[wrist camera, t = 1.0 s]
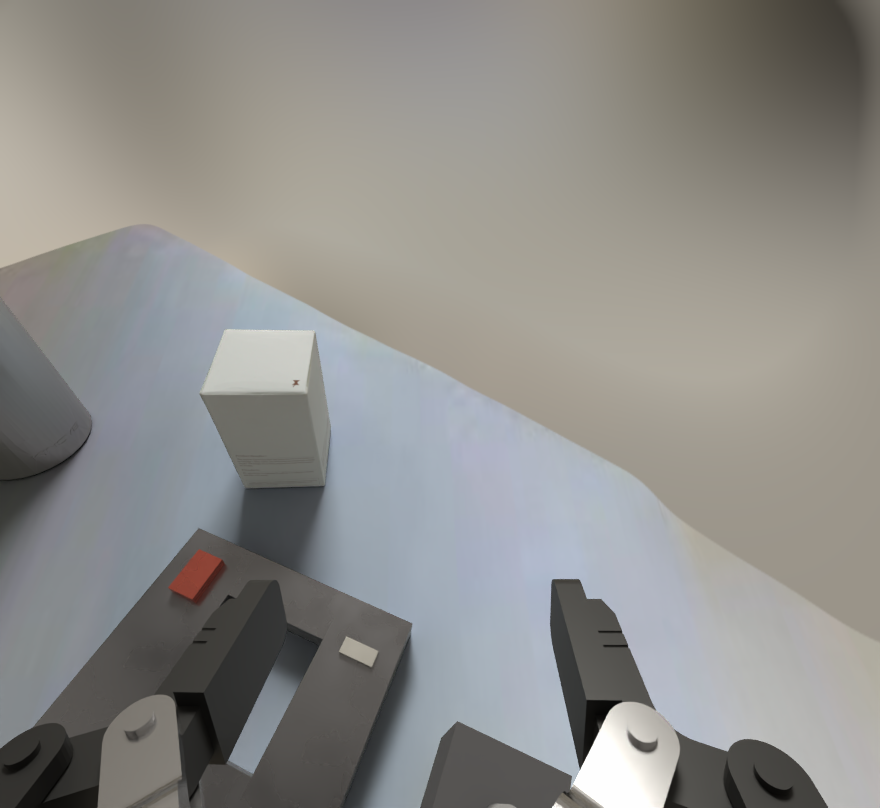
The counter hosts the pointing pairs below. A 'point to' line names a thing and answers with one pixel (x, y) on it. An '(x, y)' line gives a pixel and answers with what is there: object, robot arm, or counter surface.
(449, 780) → the plug
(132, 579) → the counter surface
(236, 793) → the socket
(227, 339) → the supplement box
